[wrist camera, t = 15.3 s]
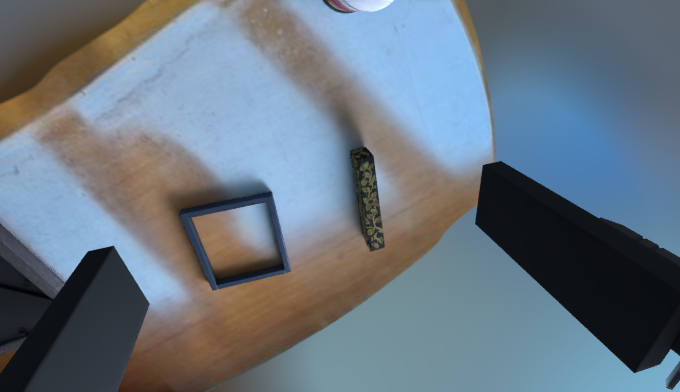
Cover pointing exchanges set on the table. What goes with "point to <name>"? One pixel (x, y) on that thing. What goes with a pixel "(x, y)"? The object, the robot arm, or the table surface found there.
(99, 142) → the table surface
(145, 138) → the table surface
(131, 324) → the robot arm
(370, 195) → the decorative block
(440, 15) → the table surface
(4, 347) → the picture frame
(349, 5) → the pill bottle
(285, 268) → the dark grey open frame
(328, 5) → the coaster
